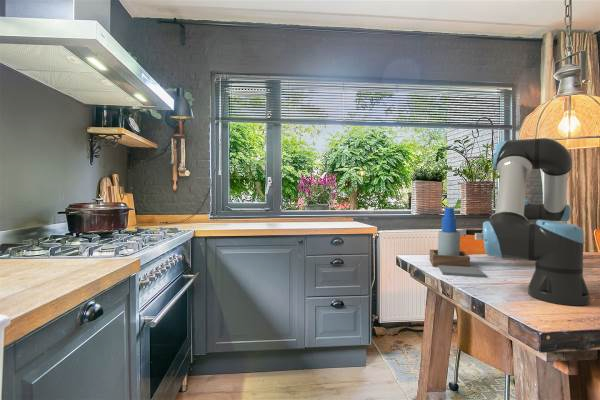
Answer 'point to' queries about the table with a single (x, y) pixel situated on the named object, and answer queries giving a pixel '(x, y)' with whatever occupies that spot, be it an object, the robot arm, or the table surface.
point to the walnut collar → (449, 259)
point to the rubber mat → (461, 271)
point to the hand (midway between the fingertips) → (464, 234)
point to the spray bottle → (449, 235)
